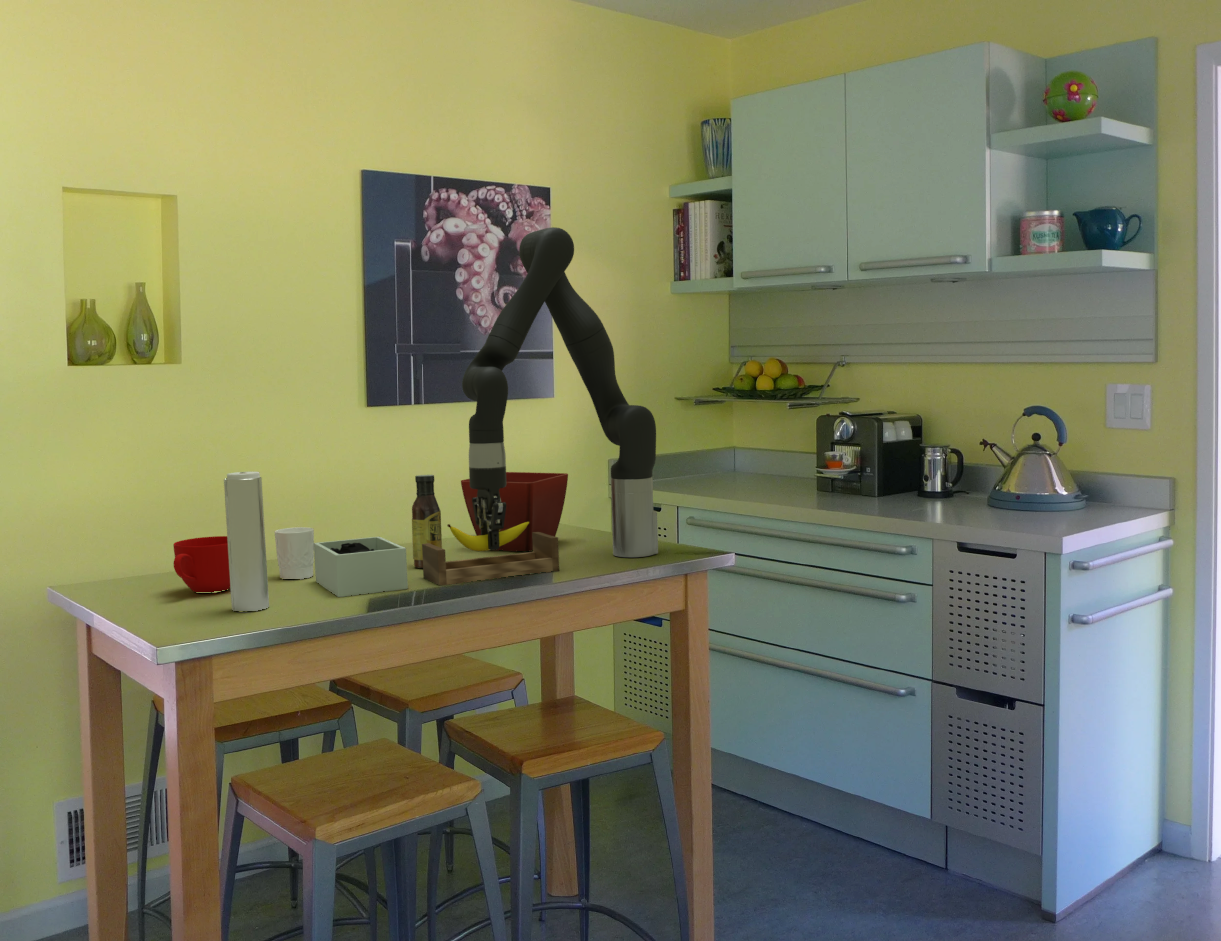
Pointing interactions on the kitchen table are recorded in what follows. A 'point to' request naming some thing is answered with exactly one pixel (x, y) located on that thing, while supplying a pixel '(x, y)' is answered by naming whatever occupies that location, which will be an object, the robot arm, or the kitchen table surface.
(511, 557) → the cradle
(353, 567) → the camera caddy
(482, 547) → the banana
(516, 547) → the plant pot
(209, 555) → the ceramic cup
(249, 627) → the kitchen table surface
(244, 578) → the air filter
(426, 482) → the sauce bottle
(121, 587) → the kitchen table surface
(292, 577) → the white cup
